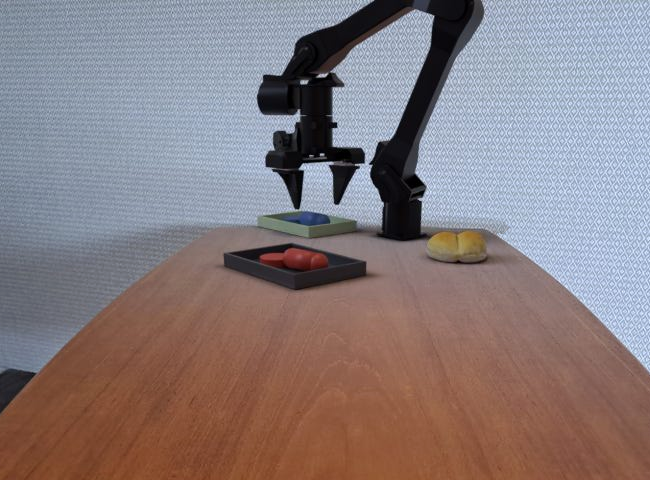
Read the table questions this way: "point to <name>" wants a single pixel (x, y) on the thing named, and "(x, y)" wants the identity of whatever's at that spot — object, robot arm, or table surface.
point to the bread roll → (457, 247)
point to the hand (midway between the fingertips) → (317, 207)
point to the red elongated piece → (296, 260)
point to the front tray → (292, 278)
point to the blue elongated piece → (308, 219)
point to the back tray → (279, 224)
